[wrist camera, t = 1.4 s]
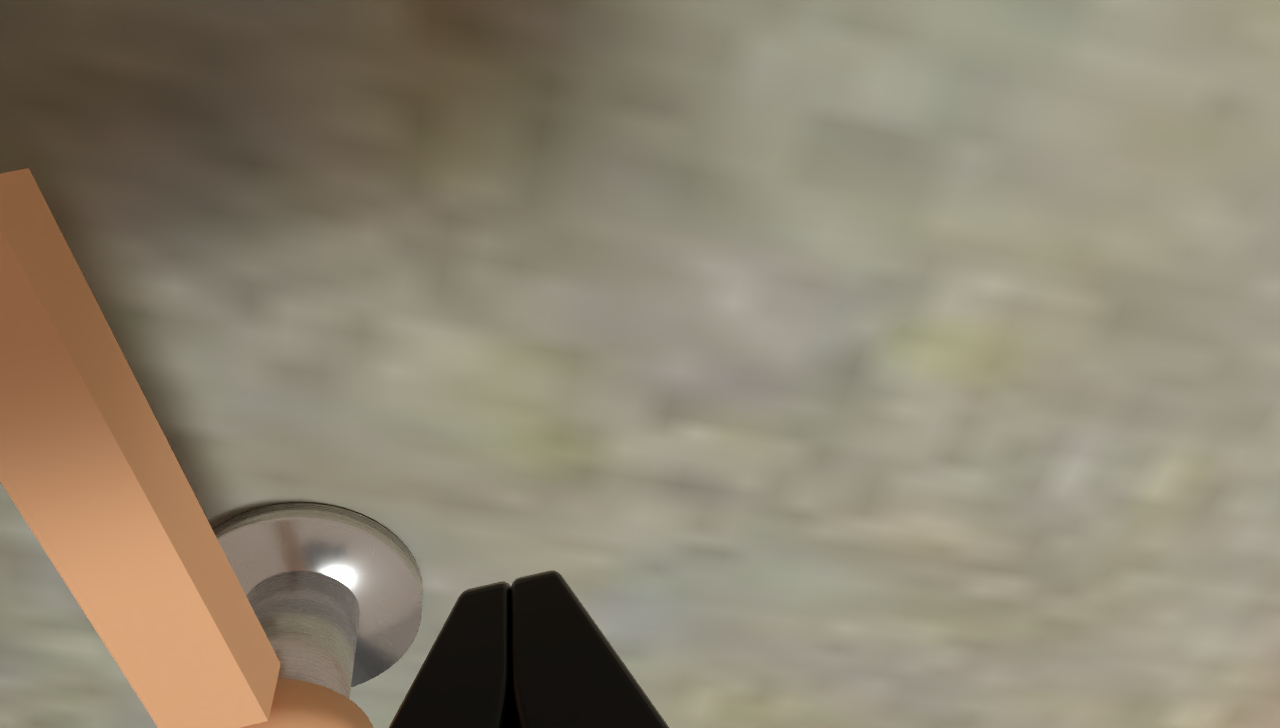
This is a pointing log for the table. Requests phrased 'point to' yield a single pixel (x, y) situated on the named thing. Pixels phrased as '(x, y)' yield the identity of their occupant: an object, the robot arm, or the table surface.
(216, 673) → the lever
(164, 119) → the table surface
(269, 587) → the post
